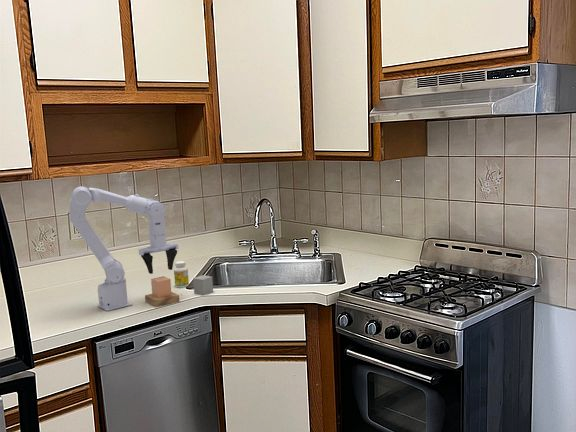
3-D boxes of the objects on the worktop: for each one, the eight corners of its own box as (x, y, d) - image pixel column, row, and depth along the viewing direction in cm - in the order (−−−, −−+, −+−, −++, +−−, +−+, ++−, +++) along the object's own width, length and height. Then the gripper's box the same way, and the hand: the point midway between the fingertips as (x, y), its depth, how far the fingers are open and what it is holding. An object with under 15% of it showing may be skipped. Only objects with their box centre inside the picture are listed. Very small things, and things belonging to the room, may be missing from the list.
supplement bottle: (191, 285, 229) (190, 261, 228) (182, 288, 225) (180, 264, 223) (181, 283, 232) (180, 260, 231) (172, 286, 228) (170, 263, 226)
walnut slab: (156, 308, 202) (155, 300, 201) (145, 303, 209) (144, 295, 209) (179, 303, 207) (179, 295, 207) (168, 298, 214) (167, 290, 214)
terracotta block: (158, 298, 204) (157, 281, 203) (152, 295, 208) (151, 278, 207) (171, 295, 207) (170, 278, 206) (164, 292, 211) (163, 276, 210)
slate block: (203, 295, 214) (202, 279, 213) (194, 293, 217) (193, 278, 216) (213, 292, 218) (212, 276, 217) (203, 290, 221) (202, 275, 220)
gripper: (143, 238, 200) (146, 277, 202) (181, 232, 209) (183, 269, 211) (135, 236, 206) (138, 273, 208) (172, 230, 215) (175, 266, 217)
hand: (160, 271), depth 210 cm, fingers open, 7 cm apart
